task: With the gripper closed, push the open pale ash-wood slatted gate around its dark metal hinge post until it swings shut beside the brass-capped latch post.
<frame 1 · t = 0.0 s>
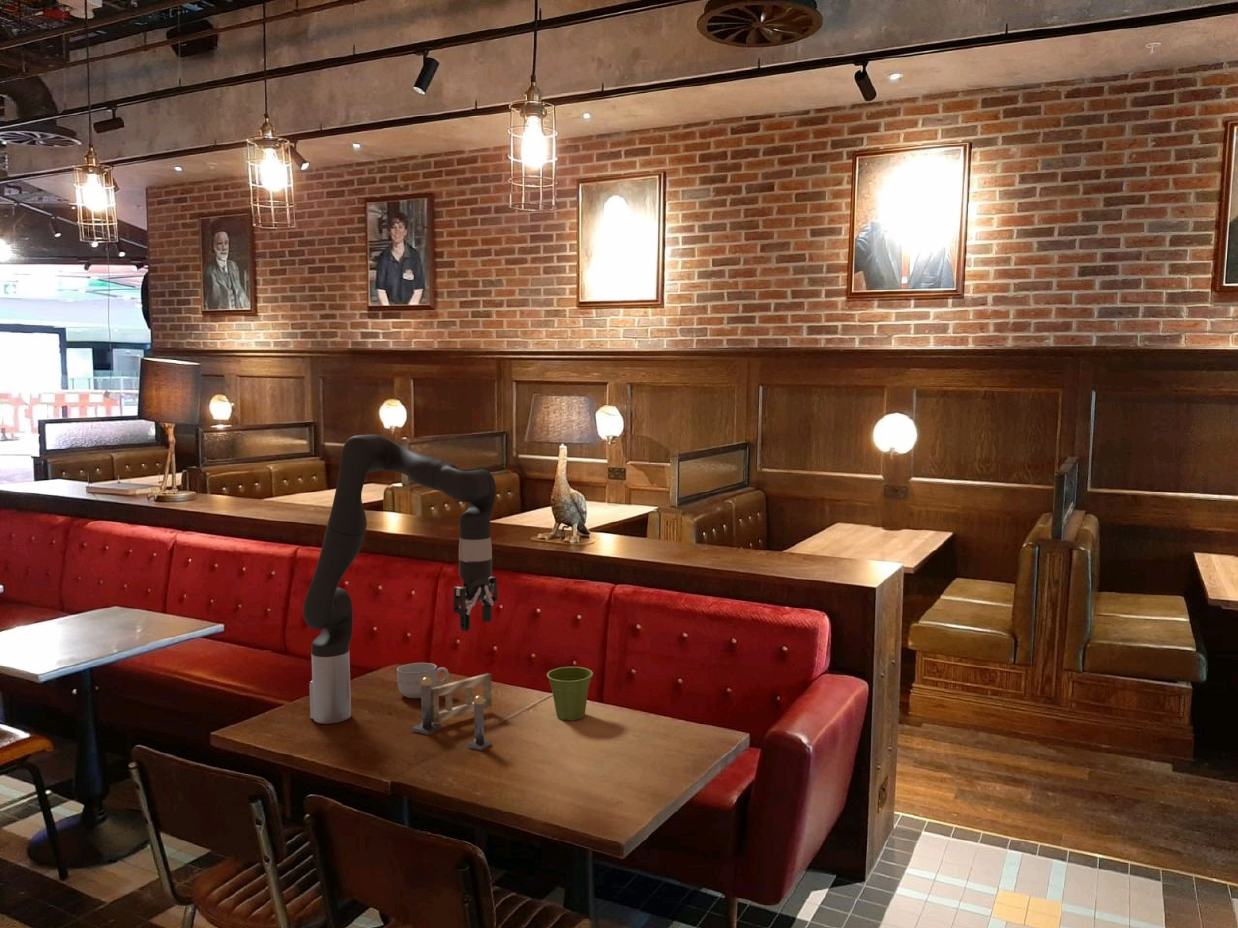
hand: (476, 625, 213), 29 cm above the table, tool pointing down, fingers open, 8 cm apart
hinge post: (426, 729, 227), on the table
plant pot: (570, 716, 237), on the table
teacup: (423, 695, 253), on the table
gate: (461, 697, 234), point 6 cm above the table, hinge at 70.0°
latch post: (479, 745, 217), on the table
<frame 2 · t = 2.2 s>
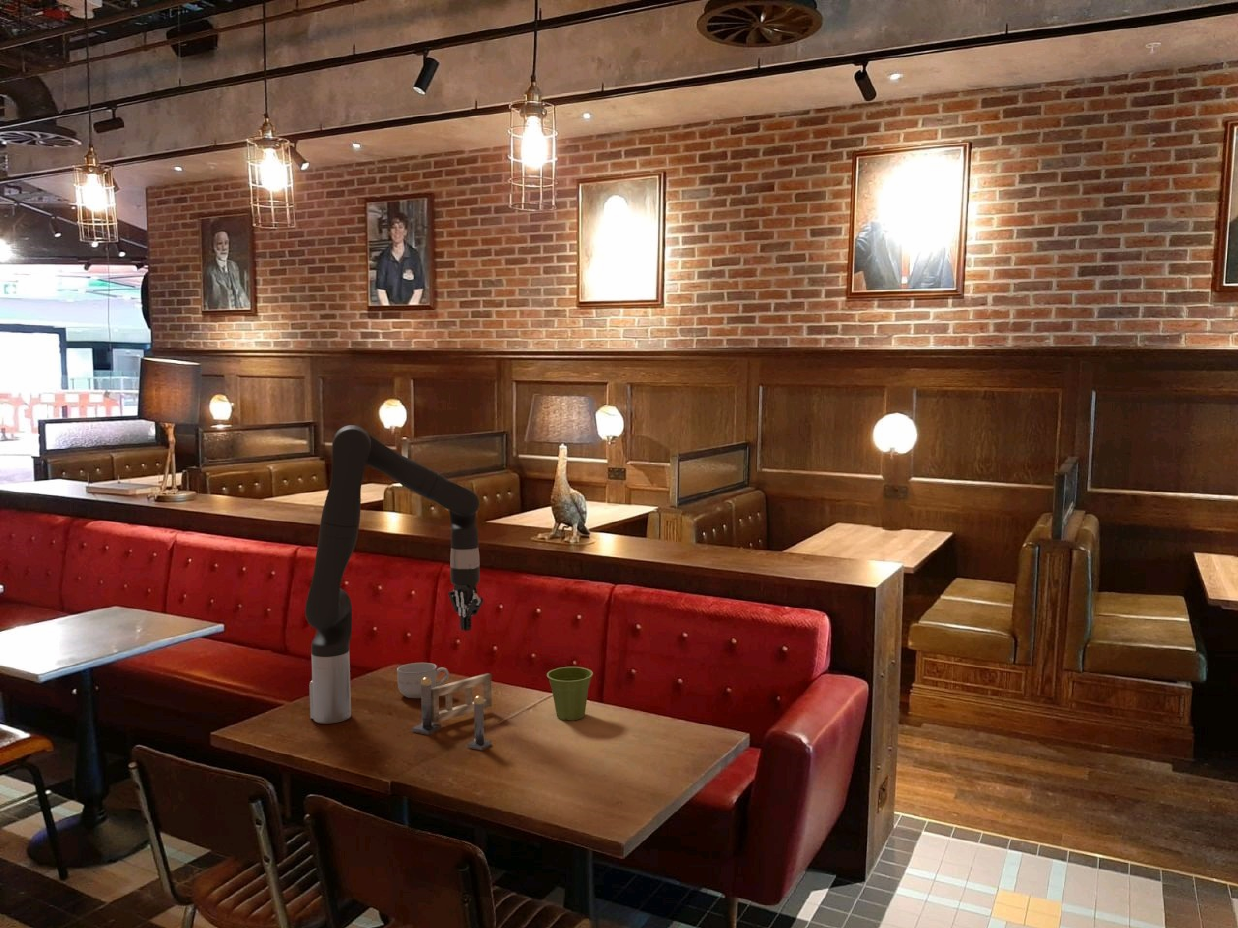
hand: (466, 629, 241), 21 cm above the table, tool pointing down, fingers closed
nothing on the table moved.
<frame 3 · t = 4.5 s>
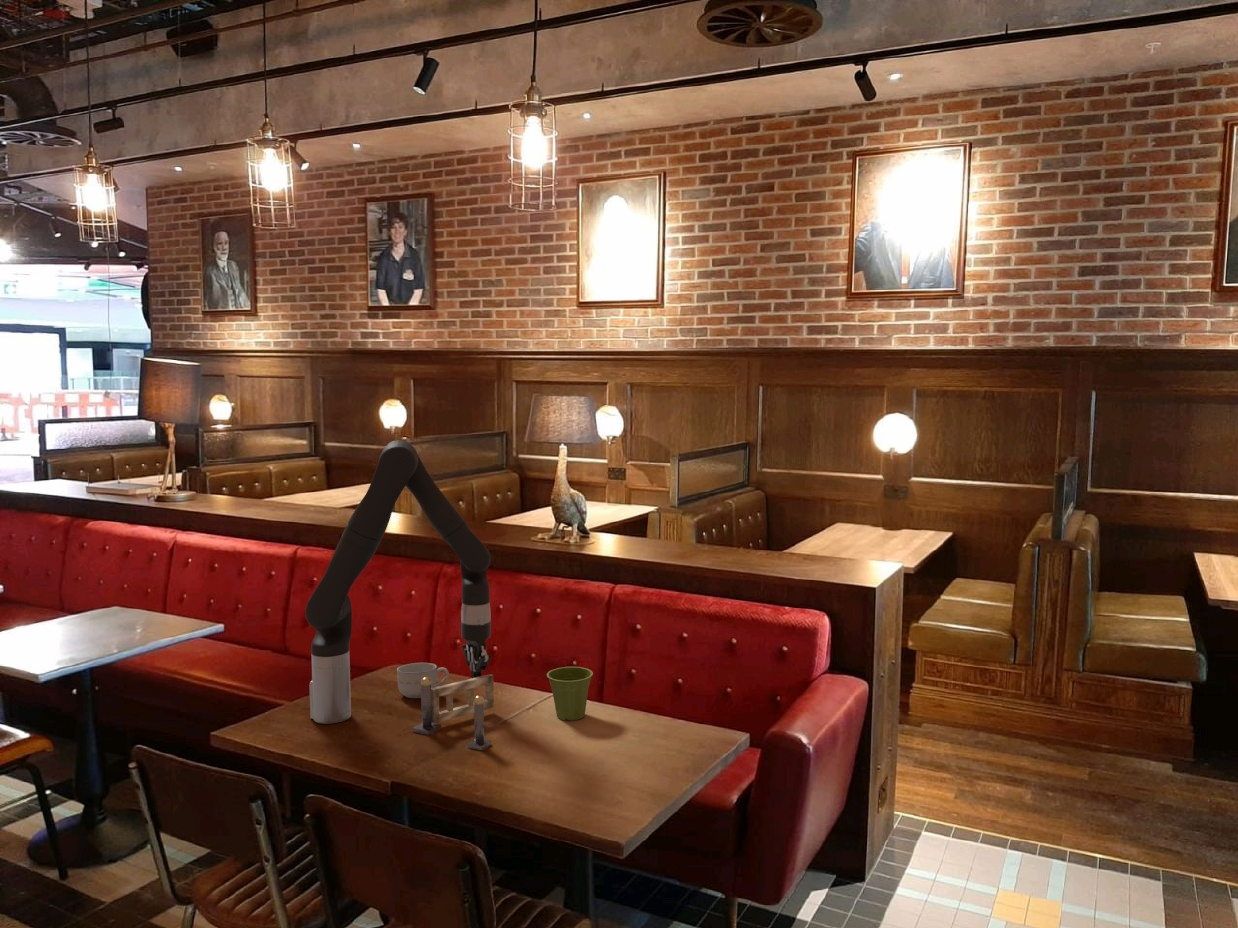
hand: (476, 684, 240), 7 cm above the table, tool pointing down, fingers closed
gate: (462, 697, 234), point 6 cm above the table, hinge at 66.9°, touching gripper
everything else where it was.
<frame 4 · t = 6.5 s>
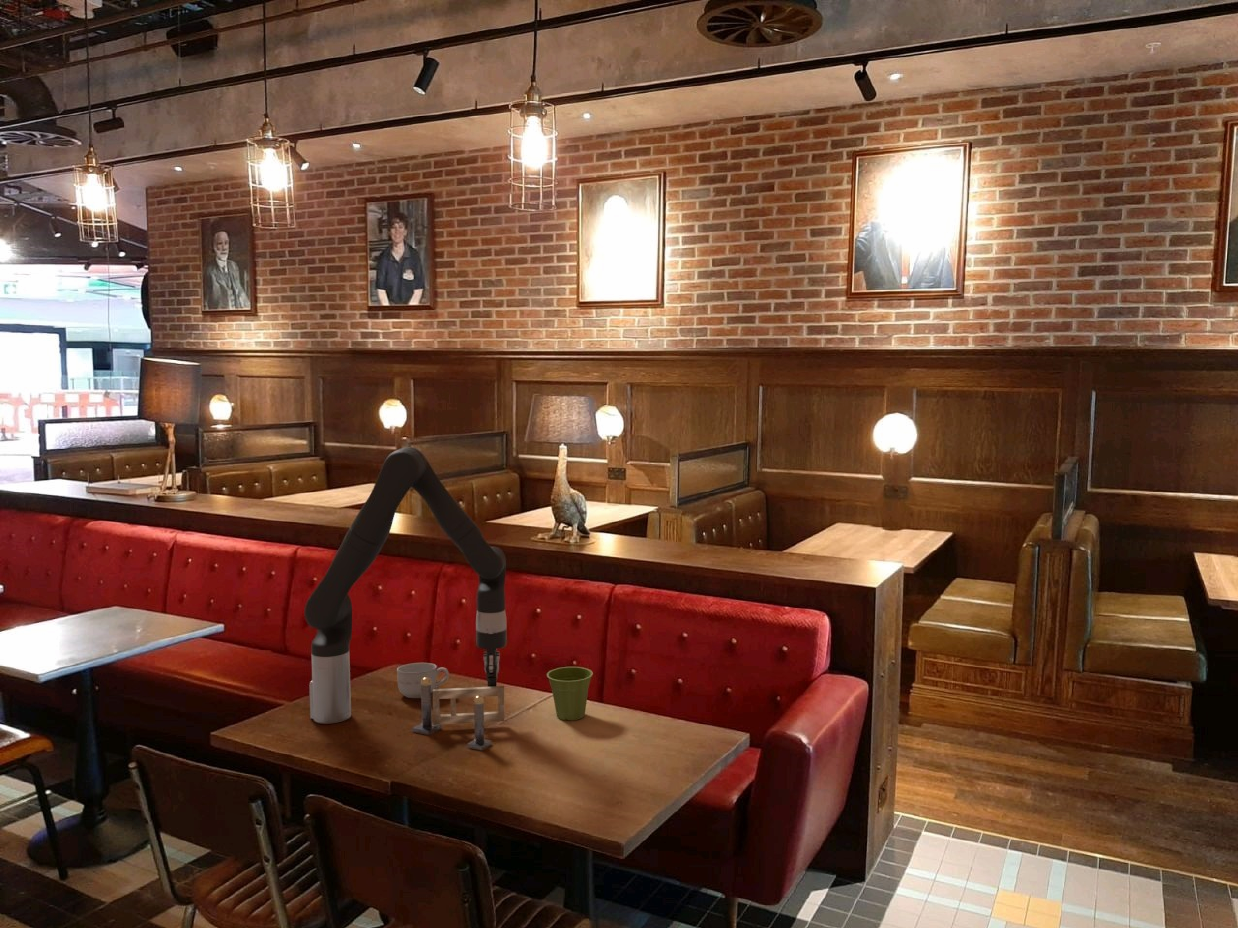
hand: (492, 694, 232), 7 cm above the table, tool pointing down, fingers closed
gate: (468, 705, 228), point 6 cm above the table, hinge at 34.5°, touching gripper
everything else where it was.
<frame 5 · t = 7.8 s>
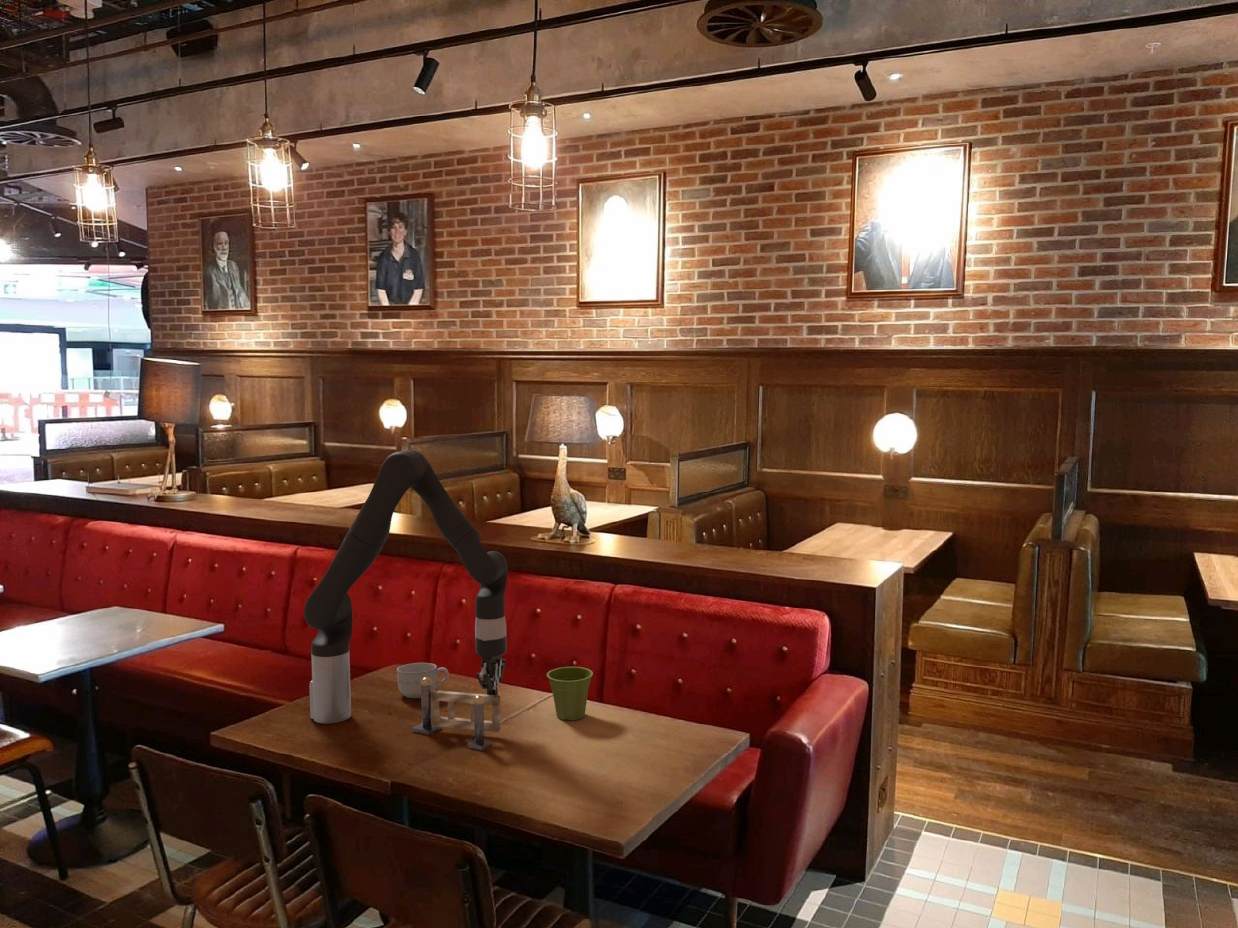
hand: (492, 702, 226), 7 cm above the table, tool pointing down, fingers closed
gate: (465, 710, 224), point 6 cm above the table, hinge at 12.7°, touching gripper
everything else where it was.
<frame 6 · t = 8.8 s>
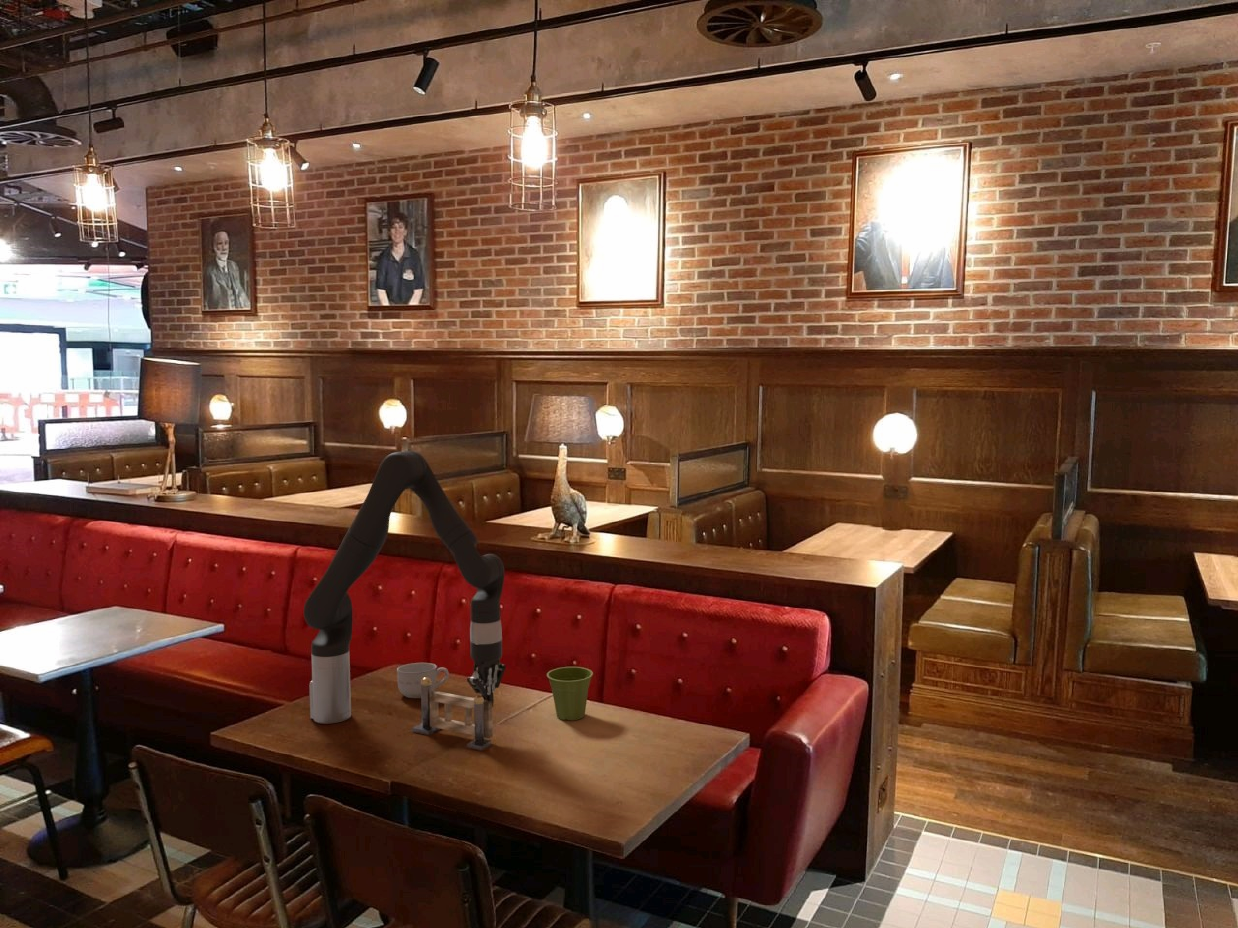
hand: (487, 708, 222), 7 cm above the table, tool pointing down, fingers closed
gate: (460, 713, 222), point 6 cm above the table, hinge at -0.1°, touching gripper
everything else where it was.
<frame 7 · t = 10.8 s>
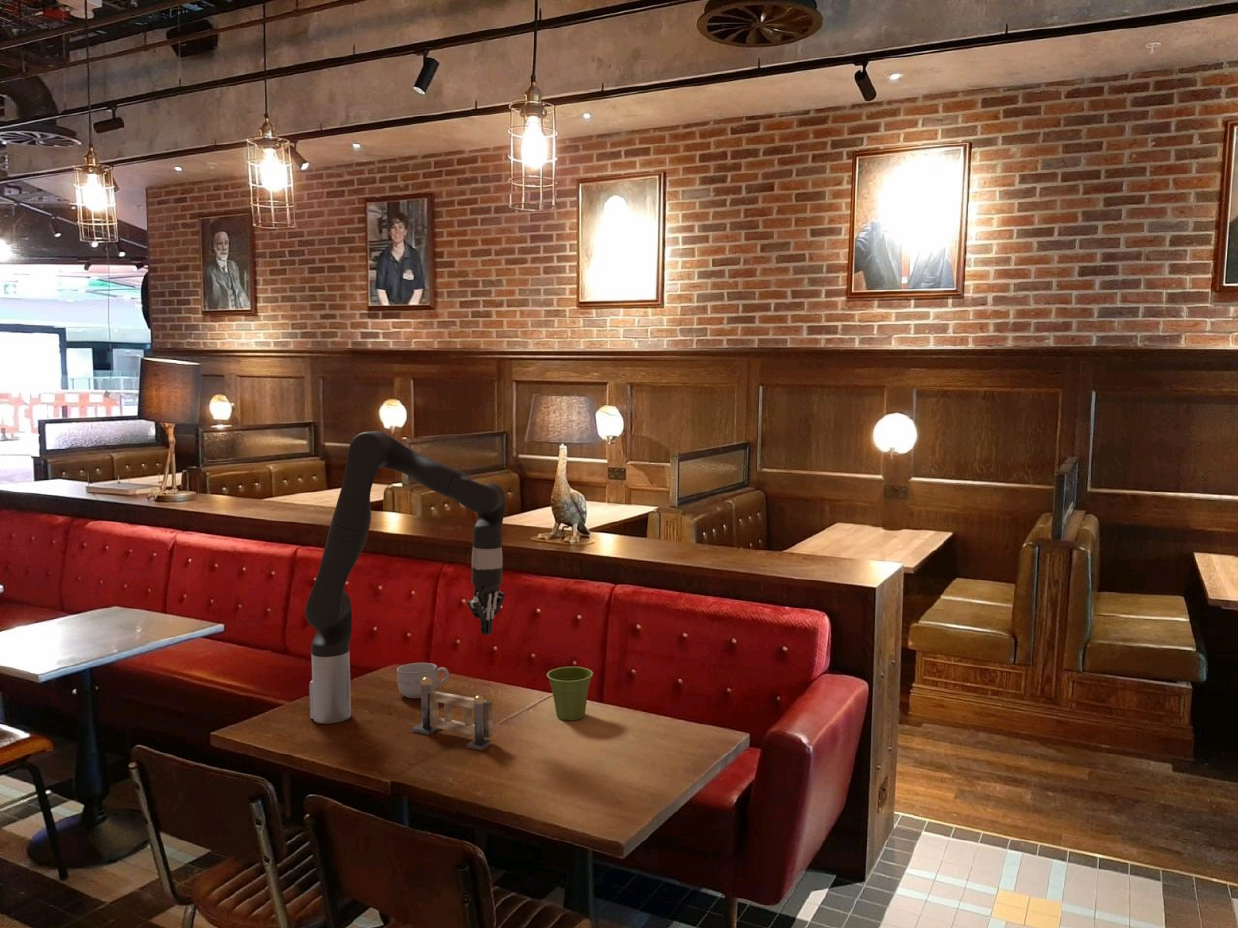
hand: (486, 633, 228), 23 cm above the table, tool pointing down, fingers closed
gate: (460, 713, 222), point 6 cm above the table, hinge at -0.1°
everything else where it was.
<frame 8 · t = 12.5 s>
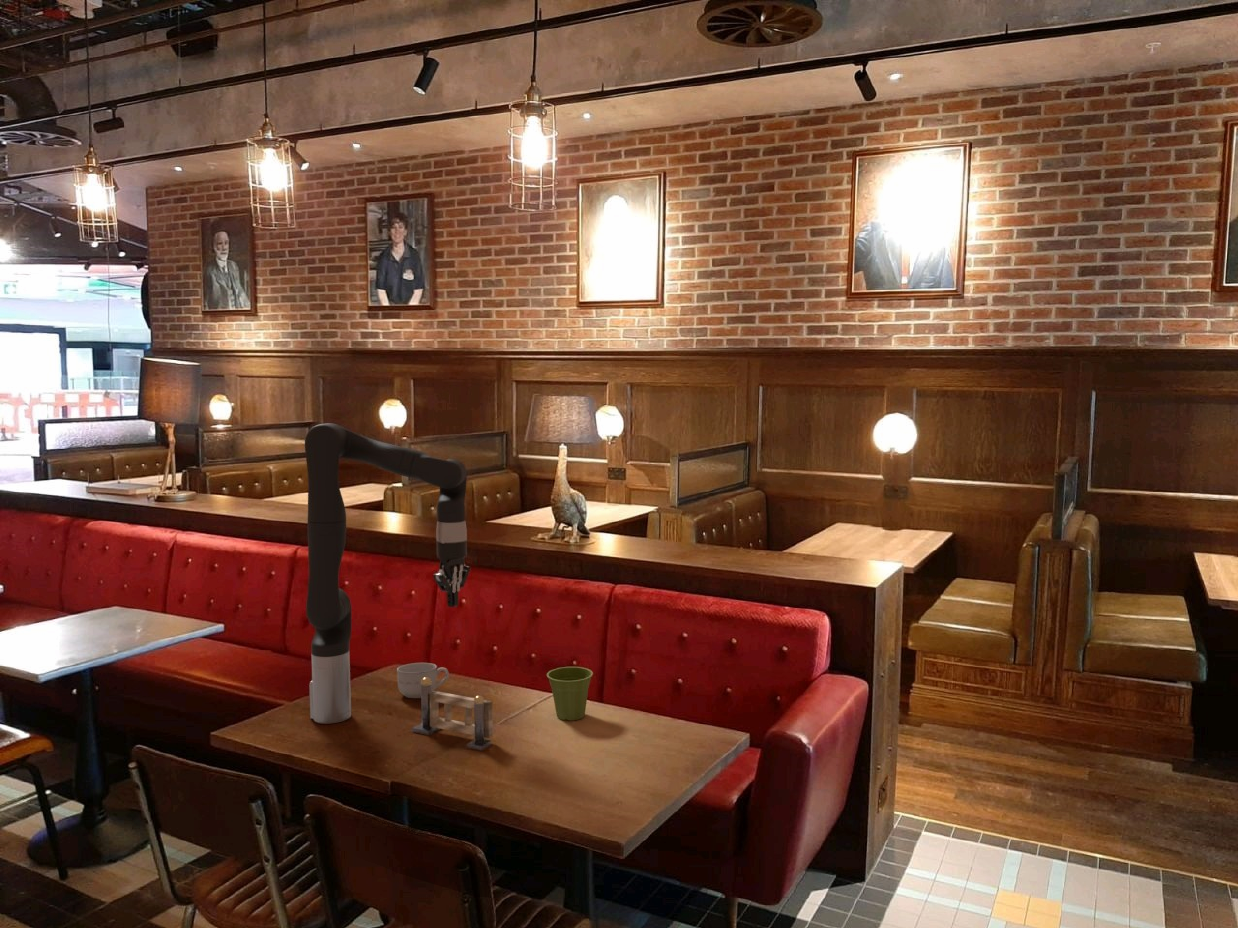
hand: (452, 606, 233), 29 cm above the table, tool pointing down, fingers closed
nothing on the table moved.
at the end: gate at +0° (first picture: +70°); plant pot moved 0.2 cm from its start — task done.
